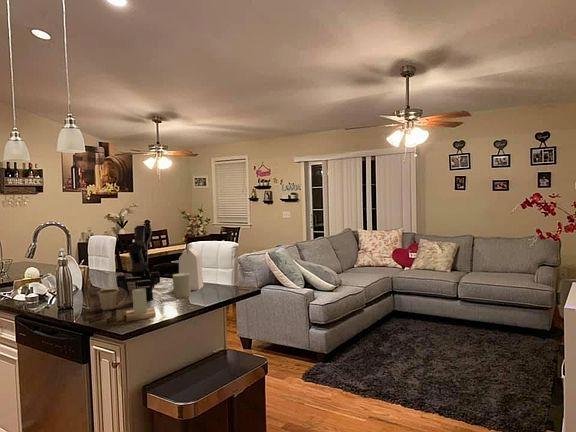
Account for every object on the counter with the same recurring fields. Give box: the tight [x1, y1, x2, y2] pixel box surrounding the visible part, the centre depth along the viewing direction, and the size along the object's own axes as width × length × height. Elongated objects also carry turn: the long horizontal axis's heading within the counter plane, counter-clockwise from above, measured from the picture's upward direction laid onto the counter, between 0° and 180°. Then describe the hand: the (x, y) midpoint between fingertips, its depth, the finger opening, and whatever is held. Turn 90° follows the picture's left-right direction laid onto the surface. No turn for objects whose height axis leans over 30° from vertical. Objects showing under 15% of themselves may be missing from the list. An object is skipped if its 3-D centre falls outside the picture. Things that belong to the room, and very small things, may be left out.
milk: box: [178, 243, 204, 291], centre depth 256 cm, size 12×12×26 cm
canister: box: [131, 288, 148, 314], centre depth 195 cm, size 6×6×10 cm
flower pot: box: [96, 288, 119, 311], centre depth 212 cm, size 9×9×9 cm
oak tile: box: [125, 306, 157, 322], centre depth 195 cm, size 12×12×2 cm
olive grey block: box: [172, 272, 192, 299], centre depth 235 cm, size 9×9×12 cm
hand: (139, 294), depth 193 cm, fingers open, 9 cm apart
